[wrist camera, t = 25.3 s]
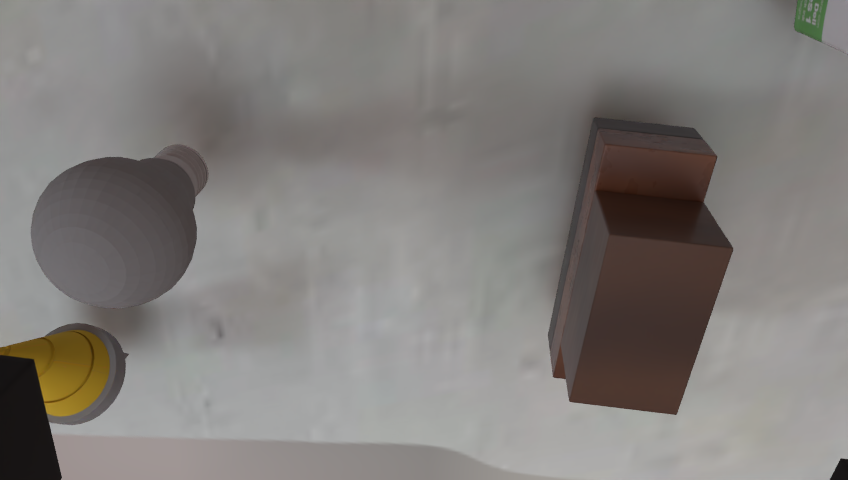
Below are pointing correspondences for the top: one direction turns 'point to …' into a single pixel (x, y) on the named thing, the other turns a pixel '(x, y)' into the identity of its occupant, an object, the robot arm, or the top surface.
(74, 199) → the light bulb
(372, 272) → the top surface
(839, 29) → the ink box
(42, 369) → the drill bit
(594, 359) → the brown stepped block
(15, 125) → the top surface
